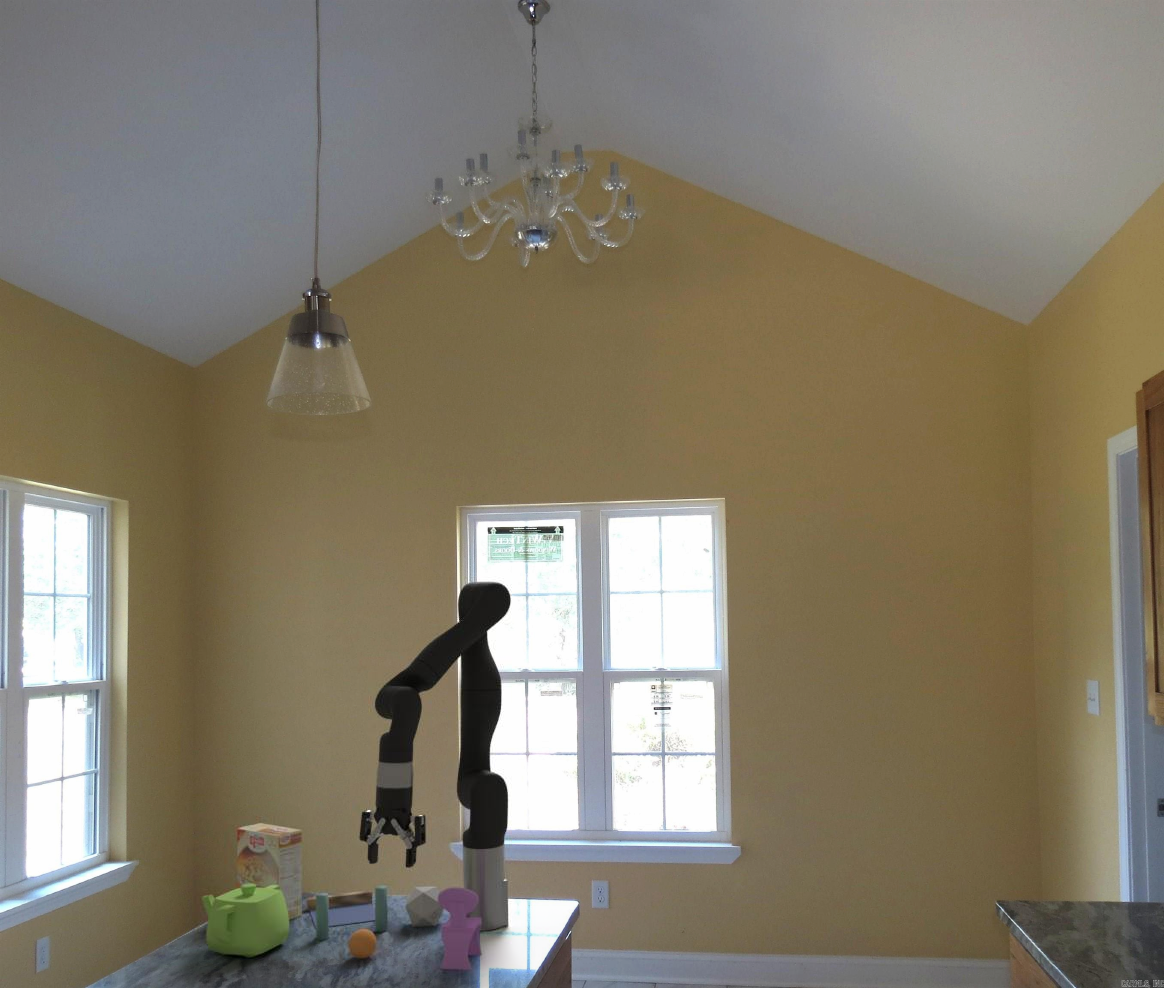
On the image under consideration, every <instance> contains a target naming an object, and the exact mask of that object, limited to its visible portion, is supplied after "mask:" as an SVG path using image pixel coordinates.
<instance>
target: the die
mask: <svg viewBox="0 0 1164 988" xmlns="http://www.w3.org/2000/svg"><path fill="white" fill-rule="evenodd" d="M440 892H441V891H440V890H439V888H438V886H414V887H413V890H412V891H411V893H410V896H409V898H408V900H407V901H406V903H405V905H404V908H405V909H406V912H407V914H408V917H409V920H410V922H411V925H412V927H413V928H414V927H415V928H417V927H436V926H437V924H438V923H439V920H440V918H441V916H442V914H443V912H444V910H445V909H444V908H443V907H441V906H440V904H439V903H438V895H439V893H440Z"/></svg>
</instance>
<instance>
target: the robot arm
mask: <svg viewBox="0 0 1164 988" xmlns="http://www.w3.org/2000/svg"><path fill="white" fill-rule="evenodd" d="M511 602H512V598H511V594H510V591H509V589H508V587H506V585H504V584H503V583H501V582H498V581H471V582H469V583H465V585H464V586H463V587H462V588H461V590H460V592H459V596H458V599H457V613H458V622H456V623H455V624H454V625H453V626H451V627H450V628H449V629H446V631H444V632H443V633H441V634H440V635H438V636H437V637H436V638H434V639H433V640H431V641H430V642H429V643H428V644H427V645H426V646H425V647H424V648H423V649H422V650H421V651H420V652H419V653H418V654H417V656H416V657H415V658H414V659H413V661H412V662H411V663H410V664H409V665H408V666H407V667H406V668H405V669H403V670H402V671H400V672H399V673H398V674H396V675H395V676H394V677H392V678H390V680H388V682H386V683H385V684H384V685H382V687H381V689H380V690H379V691H378V693H377V695H376V697H375V699H374V700H375V701H374V709H375V711H376V713H377V714H378V715H379V716H380V717H381V718H383V719H385V720H390V721H391V723H390V727H389V731H387V732H384V733H383V734H382V735H381V736H380V738H379V743H378V745H379V746H378V747H379V748H378V765H377V770H376V780H375V782H376V783H375V784H376V786H375V807H376V809H375V811H373V810H372V809H367V810H364V811H362V812H361V816H360V818H361V819H360V828H359V836H358V837H359V841H361V842H365V843H366V844H367V861H368V863H369V864H371V865H374V864H377V863H378V861H379V843H378V841H379V840H380V838H382V836H384V835H385V836H388V835H392V836H396V837H397V836H399V838H400V839H401V840H402V841H403V843H404V844H405V846H406V847H407V848H405V868H406V869H407V868H408V869H409V868H413V867H414V866H415V864H416V862H417V850H418V849H417V848H418V847H420V846H423V845H425V844H426V843H427V841H426V840H427V835H426V834H427V833H426V832H427V831H426V828H427V827H426V825H427V823H426V820H427V819H426V818H427V817H426V815H425V814H424V813H421V814H419V815H414V814H413V813H412V806H413V800H414V798H413V795H414V794H413V793H414V762H413V761H414V742H415V741H414V740H415V737H416V734H417V730H418V727H419V725H420V720H421V717H422V710H423V703H422V698H421V695H420V693H422V692H427V691H430V690H431V689H433V688H434V687H435V686H436V685H437V683H439V681H441V679H442V678H443V677H444V675H445V674H446V673H447V672H448V671H449V670H450V668H452V666H453V665H454V663H456V662H457V660H459V658H460V660H461V661H460V668H461V671H460V672H461V675H460V676H461V681H460V753H459V759H458V760H459V763H458V769H457V781H456V793H457V794H456V796H457V799H458V801H459V803H460V804H461V806H462V807H464V808H465V809H467V810H469V827H468V829H465V830H464V831H463V833H462V878H463V879H462V881H463V883H462V885H463V887H462V888H466V889H469V890H471V891H473V892H475V893H476V894H477V895H478V898H479V901H478V904H477V906H476V907H475V908H474V910H473V911H471V912H470V913H468V914H467V915H466V918H472V917H481V922H482V926H481V929H480V931H492V930H493V931H494V930H497V929H500V928H502V927H504V926H509V925H510V924H509V884H508V883H509V882H508V879H506V865H505V864H506V863H505V859H506V858H505V857H506V856H505V835H506V834H507V830H508V823H509V820H508V819H509V793H508V792H509V791H508V786H507V783H506V780H505V779H504V778H503V777H502V775H500V774H498V773H496V772H493V771H492V770H491V746H492V745H491V744H492V739H493V736H494V734H495V731H496V728H497V726H498V723H499V720H500V715H501V711H502V696H503V695H502V691H503V690H502V677H501V675H500V671H499V670H498V666H497V664H496V662H495V659H494V657H493V654H492V652H491V649H490V647H489V639H488V638H489V637H488V632H489V630H491V629H492V628H493V627H495V625H496V624H498V623H499V622H500V621H502V620H503V618H504V617H505V616H506V615H507V614H508V612H509V610H510V607H511ZM373 821H375V822H376V826H375V827H374V829H373V830H372V825H373ZM411 823H412V825H413V826H414V831H413V829H412V828H411Z"/></svg>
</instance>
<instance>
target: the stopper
mask: <svg viewBox="0 0 1164 988" xmlns="http://www.w3.org/2000/svg"><path fill="white" fill-rule="evenodd" d="M369 902H370V903H371V904H373V890H372V889H368V890H367V889H366V890H359V891H352V892H344V893H335V894H329V908H330V907H338V906H346V905H354V904H361V903H369ZM314 909H316V896H311V897H306V911H307V912H310V910H314Z"/></svg>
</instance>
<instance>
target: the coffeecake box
mask: <svg viewBox="0 0 1164 988" xmlns="http://www.w3.org/2000/svg"><path fill="white" fill-rule="evenodd" d="M302 831H303V830H302V829H298V828H292V827H286V826H282V825H281V826H280V825H274V824H268V823H262V822H260V823H254V824H250V825H244V826H242V827H237V845H236V847H237V851H236V852H237V857H236V859H237V861H236V862H237V864H236V866H237V867H236V869H237V870H236V874H237V876H236V877H237V880H236V882H237V883H236V885H237V886H236V889H237V888H241V886H242V885H244V884H250V883H252V884H256V887H257V888H266V887H268V886H270V885H280V891H282V893H283V896H284V899H285V903H286V906H287V911H288V917H289V921H290V920H294V919H296V918H298V917H299V918H300V917H302V913H303V911H302V909H303V908H302V898H303V893H302V891H303V890H302V883H303V882H302V880H303V879H302V874H303V873H302V867H303V866H302V859H303V858H302V855H303V853H302V847H303V846H302V840H303V839H302V838H303V837H302V836H303V835H302Z"/></svg>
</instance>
